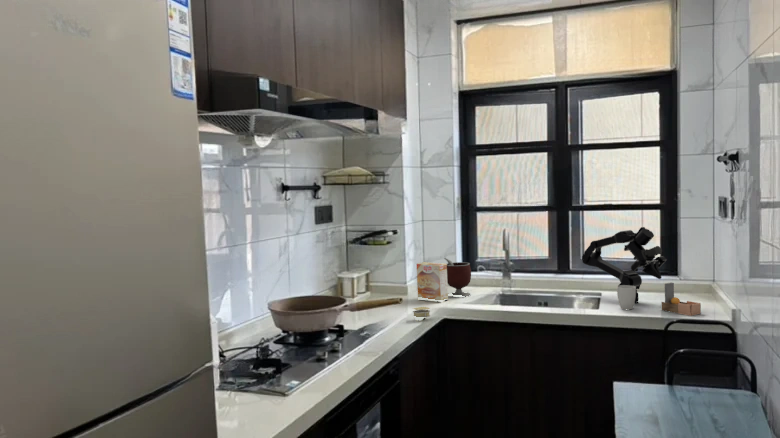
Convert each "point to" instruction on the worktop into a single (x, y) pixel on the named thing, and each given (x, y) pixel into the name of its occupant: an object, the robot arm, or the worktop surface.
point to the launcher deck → (671, 307)
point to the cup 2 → (689, 308)
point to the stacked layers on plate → (421, 312)
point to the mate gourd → (458, 276)
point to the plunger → (669, 292)
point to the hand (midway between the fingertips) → (660, 278)
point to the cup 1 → (626, 296)
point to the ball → (675, 300)
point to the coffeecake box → (432, 280)
